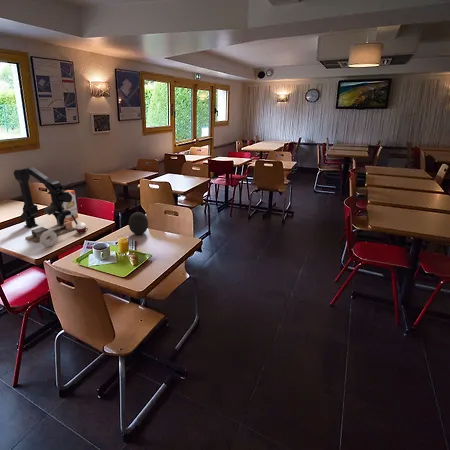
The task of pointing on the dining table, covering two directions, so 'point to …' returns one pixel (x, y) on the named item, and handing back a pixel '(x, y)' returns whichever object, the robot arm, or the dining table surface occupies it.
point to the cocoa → (80, 226)
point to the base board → (37, 232)
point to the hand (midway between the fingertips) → (60, 223)
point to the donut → (45, 235)
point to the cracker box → (71, 206)
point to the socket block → (68, 224)
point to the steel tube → (59, 225)
